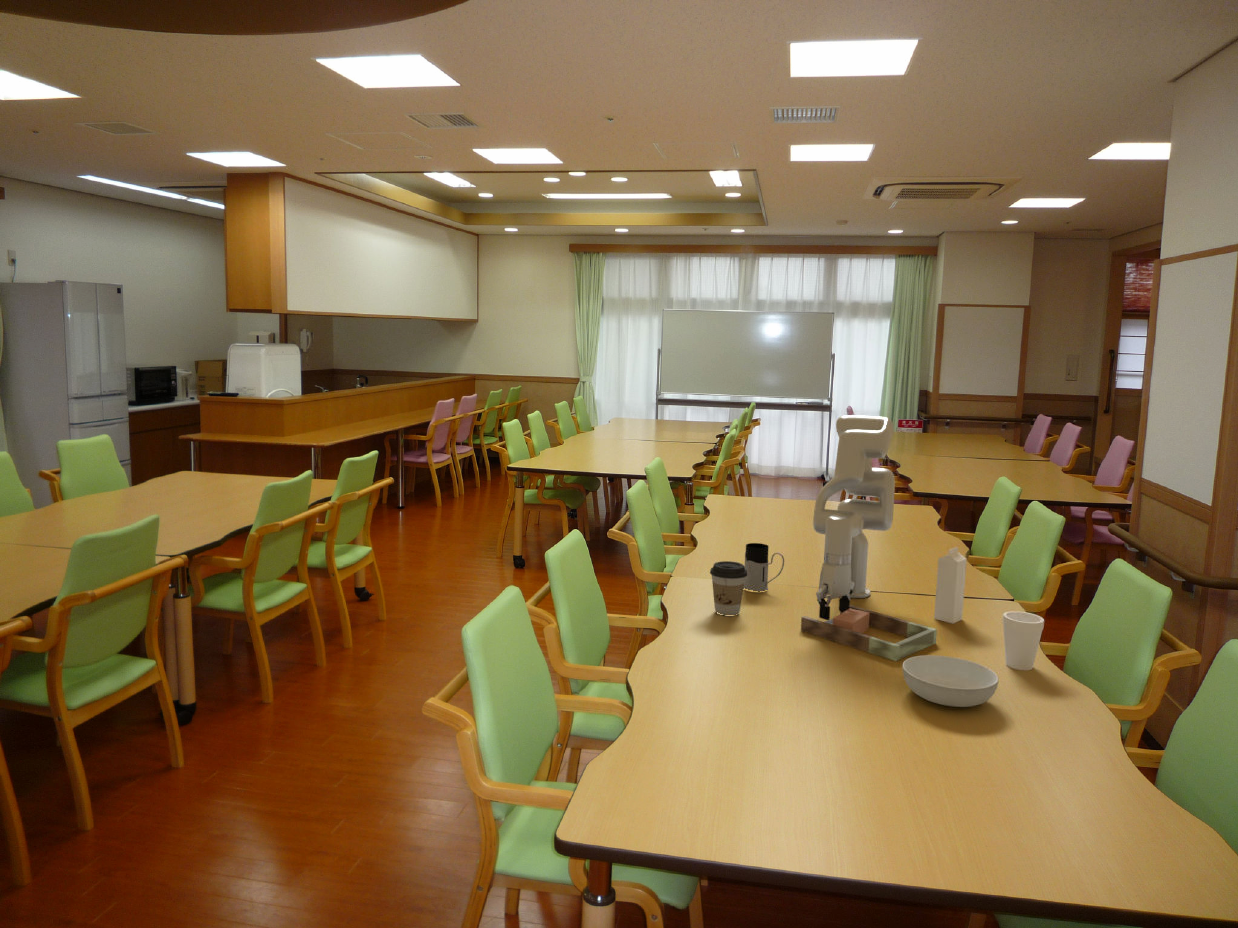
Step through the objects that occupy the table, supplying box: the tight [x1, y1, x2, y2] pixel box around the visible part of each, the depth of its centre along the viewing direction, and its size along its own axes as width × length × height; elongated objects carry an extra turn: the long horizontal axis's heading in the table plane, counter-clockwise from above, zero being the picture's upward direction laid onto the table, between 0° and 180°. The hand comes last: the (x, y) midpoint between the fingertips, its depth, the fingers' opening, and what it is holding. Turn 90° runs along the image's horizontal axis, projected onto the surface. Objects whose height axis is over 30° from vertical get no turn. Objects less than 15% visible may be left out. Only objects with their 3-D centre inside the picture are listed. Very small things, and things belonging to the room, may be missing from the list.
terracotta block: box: [832, 609, 870, 634], centre depth 237 cm, size 6×12×5 cm, turn 142°
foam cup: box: [1001, 610, 1045, 671], centre depth 213 cm, size 10×9×13 cm
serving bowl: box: [902, 654, 999, 708], centre depth 192 cm, size 21×21×7 cm
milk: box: [933, 546, 968, 624], centre depth 248 cm, size 6×6×22 cm
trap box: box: [800, 604, 938, 662], centre depth 233 cm, size 30×21×4 cm
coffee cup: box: [709, 560, 747, 615], centre depth 251 cm, size 11×11×15 cm
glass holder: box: [744, 542, 785, 592], centre depth 275 cm, size 9×14×15 cm, turn 54°
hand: (834, 615), depth 241 cm, fingers open, 9 cm apart
